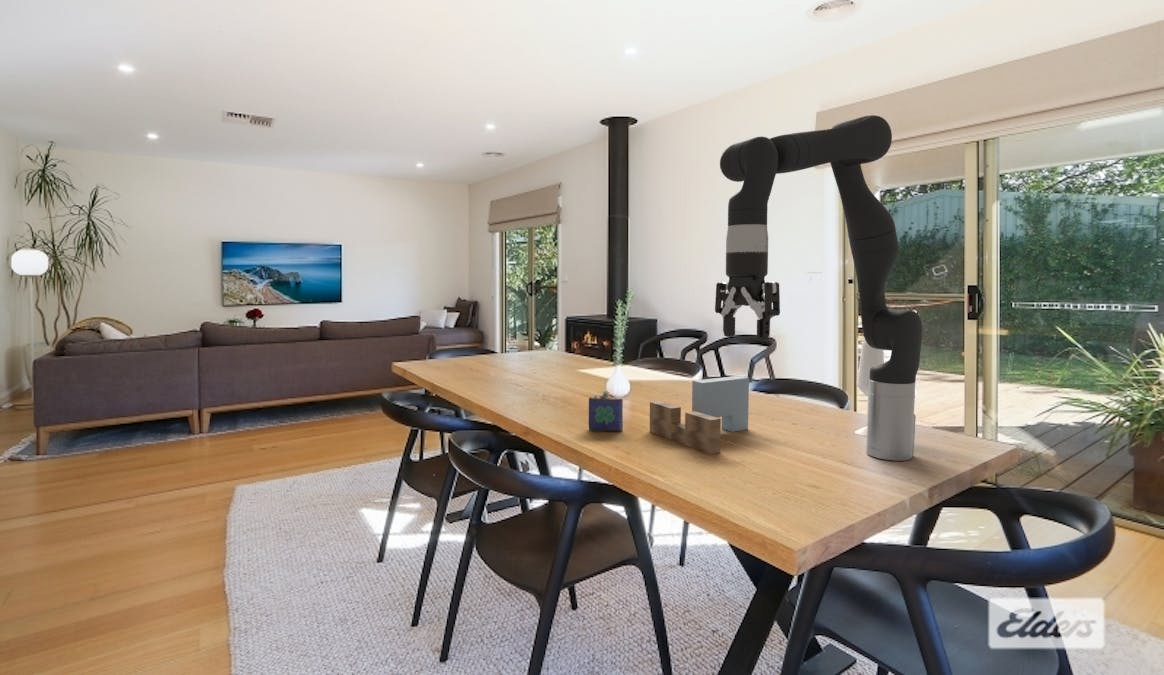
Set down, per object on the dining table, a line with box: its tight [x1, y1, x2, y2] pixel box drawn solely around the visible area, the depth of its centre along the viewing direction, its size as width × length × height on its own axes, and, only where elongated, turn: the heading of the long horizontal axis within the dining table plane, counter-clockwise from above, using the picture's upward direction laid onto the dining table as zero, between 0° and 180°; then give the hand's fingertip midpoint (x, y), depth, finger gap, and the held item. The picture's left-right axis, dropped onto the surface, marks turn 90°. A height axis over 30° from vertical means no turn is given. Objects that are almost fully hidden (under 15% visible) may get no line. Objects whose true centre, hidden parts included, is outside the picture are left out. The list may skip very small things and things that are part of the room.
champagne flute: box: [854, 340, 885, 437], centre depth 154 cm, size 7×7×24 cm
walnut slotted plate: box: [649, 400, 722, 455], centre depth 148 cm, size 24×3×8 cm, turn 29°
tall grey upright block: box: [691, 375, 750, 433], centre depth 158 cm, size 4×16×14 cm, turn 119°
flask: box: [588, 391, 624, 433], centre depth 159 cm, size 9×3×11 cm, turn 80°
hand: (745, 337), depth 112 cm, fingers open, 8 cm apart
